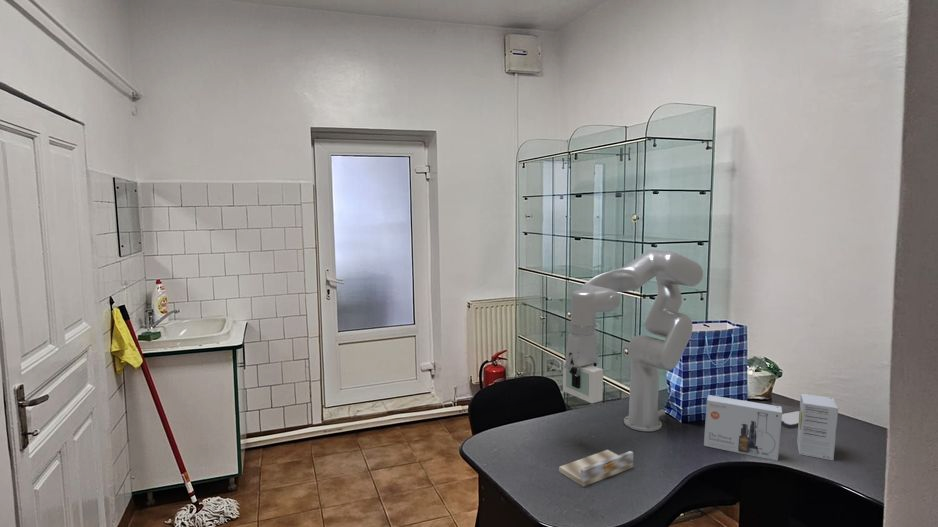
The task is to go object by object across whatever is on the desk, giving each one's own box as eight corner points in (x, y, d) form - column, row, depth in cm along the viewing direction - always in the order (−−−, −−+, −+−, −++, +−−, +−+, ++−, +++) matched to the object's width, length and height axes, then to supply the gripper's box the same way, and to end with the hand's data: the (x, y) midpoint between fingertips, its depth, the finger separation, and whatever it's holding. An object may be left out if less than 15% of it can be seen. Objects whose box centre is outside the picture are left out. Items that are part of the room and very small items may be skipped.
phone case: (798, 414, 205) (767, 420, 199) (799, 410, 205) (767, 415, 199) (821, 423, 197) (789, 430, 191) (822, 419, 197) (789, 425, 191)
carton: (573, 388, 183) (573, 358, 182) (602, 400, 172) (603, 369, 171) (562, 391, 181) (562, 361, 179) (591, 403, 170) (592, 372, 169)
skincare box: (703, 447, 178) (706, 399, 176) (704, 440, 182) (707, 393, 180) (778, 462, 168) (782, 411, 166) (778, 454, 173) (782, 405, 171)
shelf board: (607, 454, 173) (607, 439, 172) (633, 468, 164) (634, 452, 163) (559, 471, 162) (559, 456, 161) (584, 487, 153) (584, 471, 153)
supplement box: (796, 442, 181) (800, 392, 179) (829, 448, 177) (834, 397, 175) (798, 454, 172) (803, 402, 170) (834, 461, 168) (838, 407, 166)
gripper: (593, 323, 181) (592, 377, 184) (554, 331, 172) (553, 387, 175) (611, 328, 175) (609, 383, 178) (571, 336, 166) (570, 394, 168)
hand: (582, 384), depth 176 cm, fingers closed on carton, 4 cm apart
